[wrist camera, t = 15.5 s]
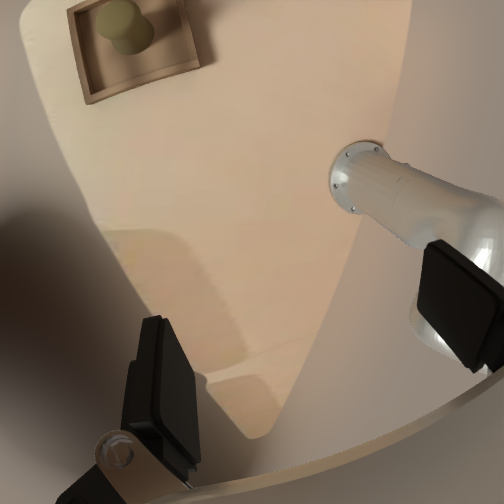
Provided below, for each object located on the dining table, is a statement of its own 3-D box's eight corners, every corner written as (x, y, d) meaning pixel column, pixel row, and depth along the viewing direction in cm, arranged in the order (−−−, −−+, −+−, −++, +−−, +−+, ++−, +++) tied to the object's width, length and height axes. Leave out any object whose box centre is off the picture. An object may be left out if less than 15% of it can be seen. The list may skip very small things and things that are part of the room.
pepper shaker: (161, 22, 31) (152, -3, 21) (143, 59, 33) (127, 45, 24) (123, 13, 29) (104, -12, 19) (105, 50, 31) (79, 35, 22)
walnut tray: (177, -23, 28) (176, -30, 26) (199, 68, 36) (199, 66, 34) (72, 14, 27) (66, 9, 25) (92, 104, 35) (85, 104, 33)
